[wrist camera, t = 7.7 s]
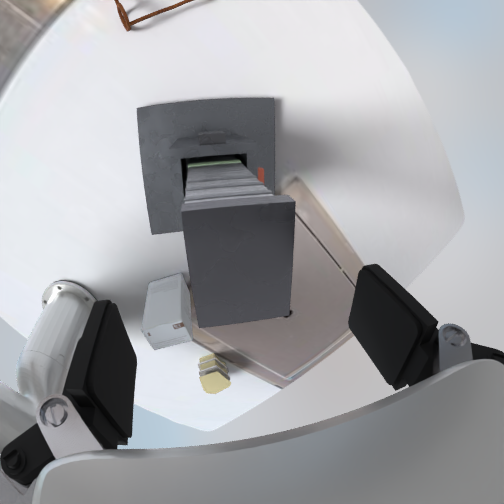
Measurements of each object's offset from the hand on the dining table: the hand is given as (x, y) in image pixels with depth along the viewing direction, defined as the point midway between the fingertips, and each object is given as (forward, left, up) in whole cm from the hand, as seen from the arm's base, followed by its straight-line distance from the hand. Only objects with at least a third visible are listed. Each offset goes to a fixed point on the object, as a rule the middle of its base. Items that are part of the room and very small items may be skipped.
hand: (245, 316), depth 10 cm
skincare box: (-19, +8, -31) cm, 37 cm away
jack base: (0, 0, -31) cm, 31 cm away
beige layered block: (-40, +3, -32) cm, 51 cm away
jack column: (0, 0, -24) cm, 24 cm away
